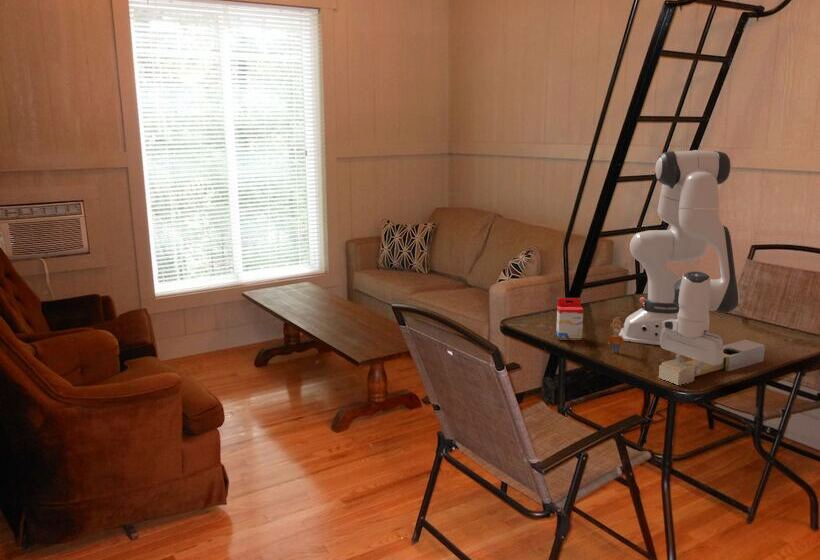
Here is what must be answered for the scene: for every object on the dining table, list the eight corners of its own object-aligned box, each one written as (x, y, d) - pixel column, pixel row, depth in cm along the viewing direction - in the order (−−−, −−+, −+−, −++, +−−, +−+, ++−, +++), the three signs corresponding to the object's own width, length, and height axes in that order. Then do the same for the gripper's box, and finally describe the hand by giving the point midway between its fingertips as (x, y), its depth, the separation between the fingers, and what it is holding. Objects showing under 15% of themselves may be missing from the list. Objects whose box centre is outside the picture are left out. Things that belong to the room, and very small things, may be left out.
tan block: (719, 363, 212) (720, 352, 212) (730, 366, 209) (731, 355, 208) (672, 376, 202) (673, 364, 201) (682, 380, 199) (683, 368, 198)
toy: (606, 352, 226) (608, 316, 223) (609, 350, 228) (610, 314, 225) (622, 355, 223) (624, 318, 220) (624, 352, 225) (626, 316, 223)
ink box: (558, 341, 239) (559, 301, 236) (555, 336, 244) (557, 297, 240) (582, 340, 239) (584, 301, 235) (579, 336, 243) (580, 297, 240)
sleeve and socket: (743, 355, 221) (745, 339, 219) (763, 361, 215) (765, 345, 213) (658, 378, 202) (659, 361, 200) (677, 386, 196) (679, 368, 194)
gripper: (730, 333, 192) (726, 379, 195) (672, 317, 210) (669, 359, 213) (716, 337, 189) (712, 383, 192) (658, 320, 207) (655, 362, 210)
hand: (689, 370), depth 203 cm, fingers closed on tan block, 4 cm apart
